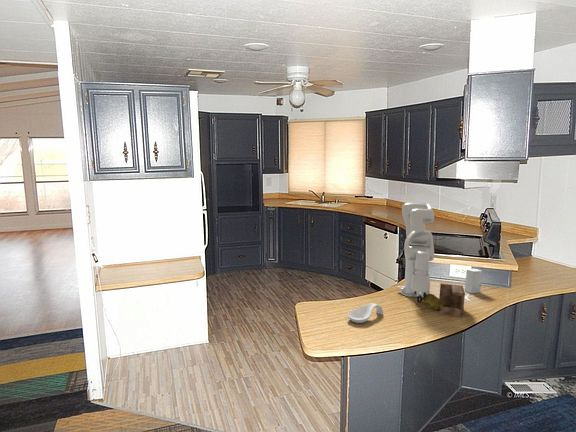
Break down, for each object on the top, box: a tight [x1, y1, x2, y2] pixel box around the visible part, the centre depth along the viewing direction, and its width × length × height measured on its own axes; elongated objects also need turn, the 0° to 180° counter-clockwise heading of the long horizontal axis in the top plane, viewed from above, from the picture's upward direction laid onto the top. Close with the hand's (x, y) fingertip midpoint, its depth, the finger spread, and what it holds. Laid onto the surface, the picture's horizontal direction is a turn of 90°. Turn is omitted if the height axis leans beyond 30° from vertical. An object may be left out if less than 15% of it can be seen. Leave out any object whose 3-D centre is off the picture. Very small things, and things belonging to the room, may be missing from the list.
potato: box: [422, 293, 446, 312], centre depth 244 cm, size 8×13×8 cm, turn 31°
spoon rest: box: [346, 302, 384, 324], centre depth 228 cm, size 24×12×7 cm, turn 129°
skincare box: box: [464, 268, 483, 294], centre depth 275 cm, size 8×6×15 cm
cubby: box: [438, 282, 466, 318], centre depth 241 cm, size 12×14×14 cm
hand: (419, 302), depth 246 cm, fingers closed
